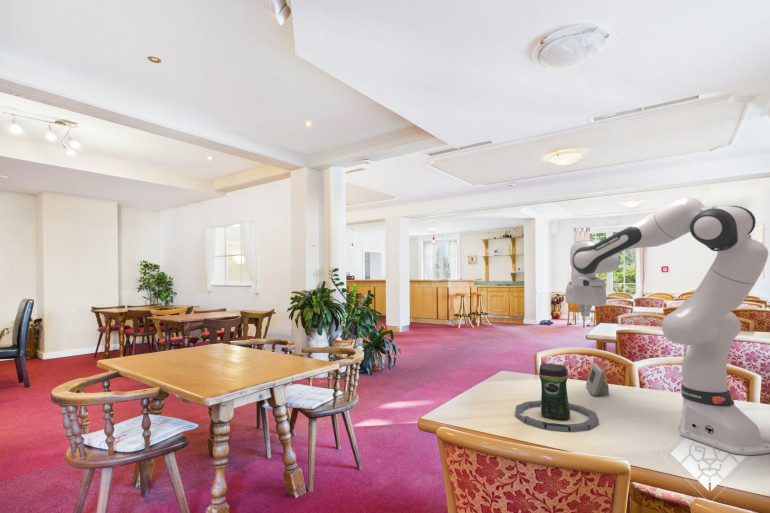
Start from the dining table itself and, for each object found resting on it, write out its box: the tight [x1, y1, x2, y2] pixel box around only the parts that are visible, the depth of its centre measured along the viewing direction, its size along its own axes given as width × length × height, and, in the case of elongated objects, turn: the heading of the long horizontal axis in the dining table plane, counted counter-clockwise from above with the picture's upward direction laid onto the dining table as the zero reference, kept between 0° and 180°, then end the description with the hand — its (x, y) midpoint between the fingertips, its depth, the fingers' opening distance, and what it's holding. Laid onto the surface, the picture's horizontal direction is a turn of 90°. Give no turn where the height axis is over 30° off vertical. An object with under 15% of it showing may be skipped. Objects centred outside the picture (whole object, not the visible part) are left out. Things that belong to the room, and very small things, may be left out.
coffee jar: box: [538, 362, 571, 421], centre depth 144 cm, size 10×8×19 cm
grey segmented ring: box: [514, 399, 600, 433], centre depth 143 cm, size 27×27×2 cm
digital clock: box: [585, 363, 610, 397], centre depth 171 cm, size 16×9×11 cm, turn 150°
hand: (585, 316), depth 159 cm, fingers closed
